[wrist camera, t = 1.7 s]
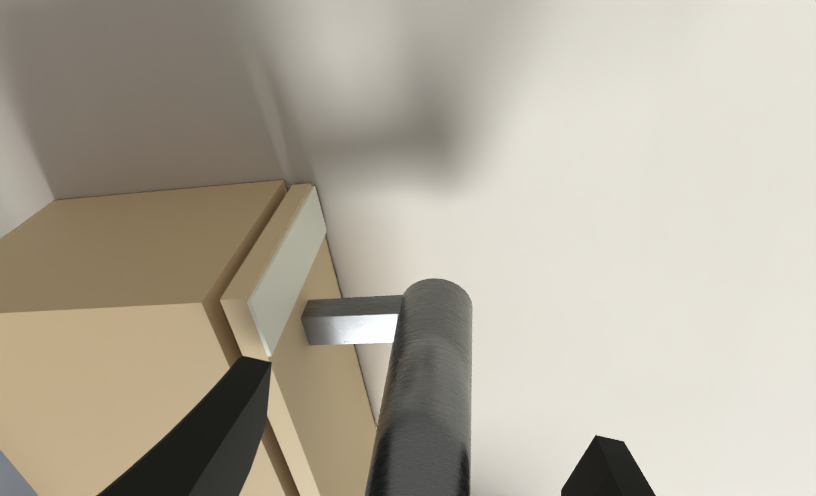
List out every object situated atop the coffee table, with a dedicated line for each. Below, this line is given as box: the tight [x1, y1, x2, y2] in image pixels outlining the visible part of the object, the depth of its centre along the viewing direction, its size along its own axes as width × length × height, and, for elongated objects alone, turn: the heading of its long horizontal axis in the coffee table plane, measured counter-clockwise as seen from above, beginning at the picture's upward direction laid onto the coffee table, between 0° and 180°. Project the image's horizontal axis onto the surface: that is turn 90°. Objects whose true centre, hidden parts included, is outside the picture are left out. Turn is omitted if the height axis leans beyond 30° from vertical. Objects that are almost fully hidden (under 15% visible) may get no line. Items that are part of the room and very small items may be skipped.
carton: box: [0, 180, 300, 496], centre depth 18 cm, size 8×12×6 cm, turn 9°
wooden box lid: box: [220, 183, 472, 496], centre depth 15 cm, size 5×12×10 cm, turn 9°
